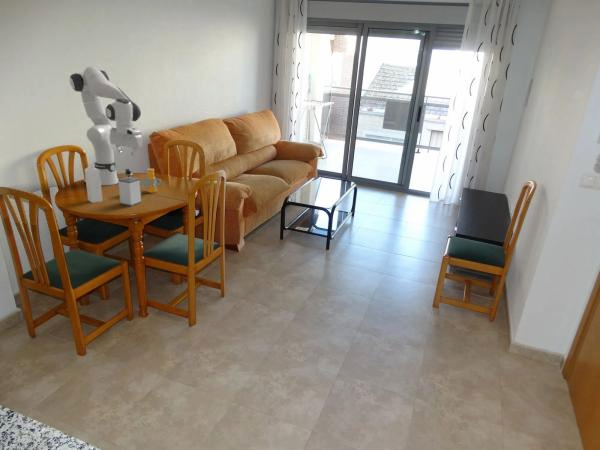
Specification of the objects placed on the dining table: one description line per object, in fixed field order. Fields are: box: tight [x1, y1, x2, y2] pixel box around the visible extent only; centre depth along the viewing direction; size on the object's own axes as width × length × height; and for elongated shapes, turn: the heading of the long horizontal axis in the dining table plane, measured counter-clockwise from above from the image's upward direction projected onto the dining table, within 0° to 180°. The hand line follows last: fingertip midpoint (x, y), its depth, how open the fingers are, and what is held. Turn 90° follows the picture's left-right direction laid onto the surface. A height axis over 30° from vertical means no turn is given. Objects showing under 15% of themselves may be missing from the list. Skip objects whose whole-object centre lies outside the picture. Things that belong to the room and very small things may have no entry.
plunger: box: [124, 168, 133, 180], centre depth 241 cm, size 5×5×19 cm
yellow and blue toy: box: [140, 167, 162, 194], centre depth 266 cm, size 12×10×15 cm
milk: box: [84, 163, 103, 204], centre depth 241 cm, size 6×6×22 cm
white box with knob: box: [118, 176, 142, 207], centre depth 244 cm, size 8×12×15 cm, turn 159°
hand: (126, 154), depth 235 cm, fingers open, 8 cm apart
